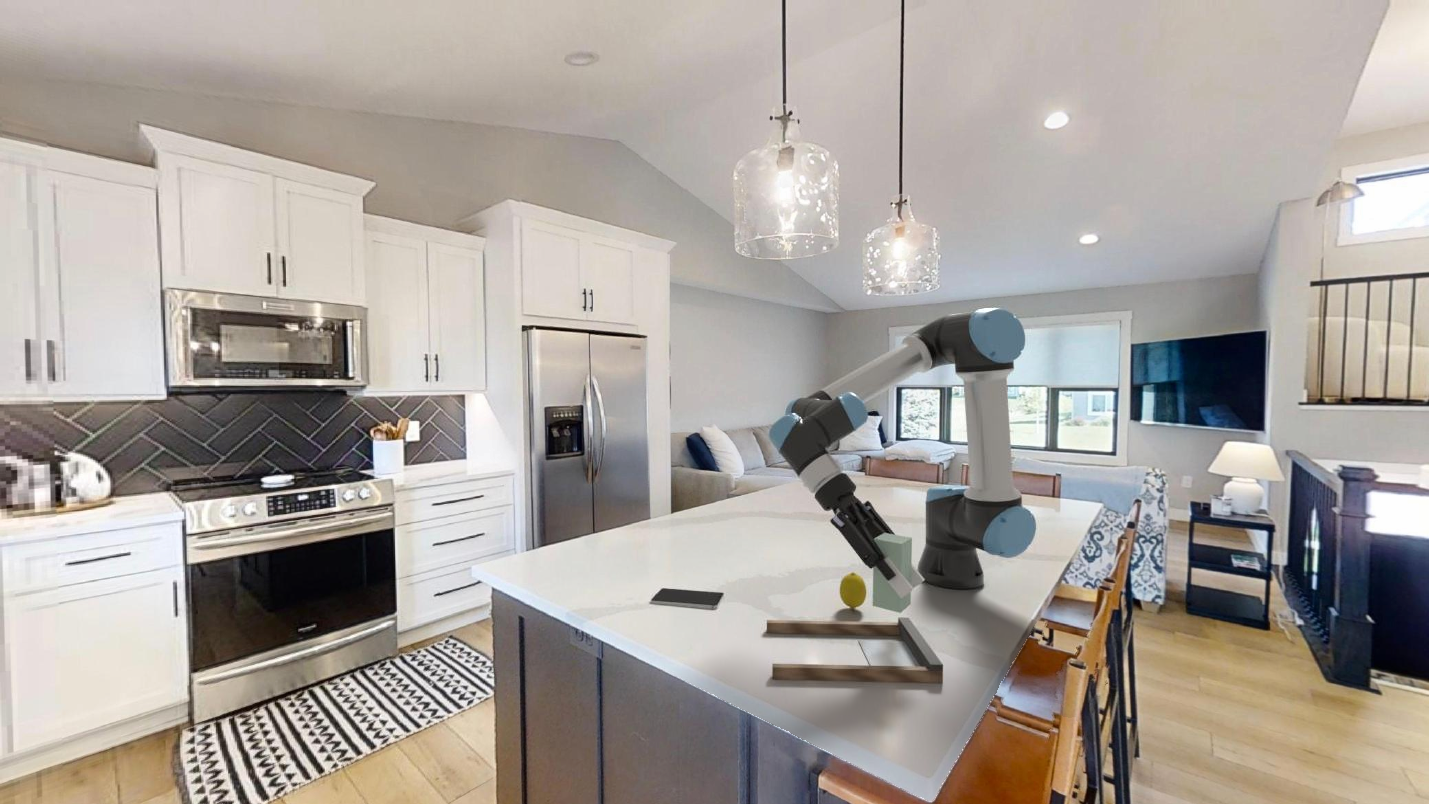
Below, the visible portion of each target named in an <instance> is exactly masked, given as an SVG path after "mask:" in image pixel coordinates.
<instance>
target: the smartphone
mask: <svg viewBox="0 0 1429 804" xmlns="http://www.w3.org/2000/svg"><path fill="white" fill-rule="evenodd" d="M724 597H725V593H724V592H719V591H708V590H707V591H706V590H695V589H680V588H665V587H663V588H662V587H661V588H660V589H659V590H658V591H657V593H655V595H654V596H653V597H652V598H651V600H650V603H651V604H654V605H656V604H657V605H658V604H659V605H665V606H666V605H667V606H677V607H688V608H689V607H690V608H697V609H706V610H707V609H710V610H718V608H719V607H720V605H721V603H722V601H723V599H724Z"/></svg>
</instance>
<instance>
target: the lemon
mask: <svg viewBox="0 0 1429 804" xmlns="http://www.w3.org/2000/svg"><path fill="white" fill-rule="evenodd" d="M839 596H840V598H841V599H840V600H841V601H842V602H843V603H844V604H845V605H846V607H848V608H849V609H851V610H855V609H856V608H858V607H861V606H862V605H863V604H864V602H865V600H866V597H867V587H866V583H865V580H864V579H863V578H862V577H861V575H859V574H858V573H857V574H856V573H855V571H854V572H851V573H847V574H846V575H845V576H843V578H842V579H841V581H840V584H839Z"/></svg>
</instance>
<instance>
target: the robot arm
mask: <svg viewBox="0 0 1429 804" xmlns="http://www.w3.org/2000/svg"><path fill="white" fill-rule="evenodd" d="M1025 345H1026V333H1025V329H1024V327H1023V324H1022V322H1021V320H1019V318H1018V317H1017V316H1015V315H1014V314H1013V313H1012V312H1011V311H1010V310H1007V309H1005V308H999V307H993V308H992V307H990V308H988V307H987V308H986V307H984V308H981V309H975V310H969V311H964V312H959V313H958V312H957V313H950V314H947V315H944V316H942V317H939V318H937V319H935V320H934V321H931V322H930V323H928V324H926V325H924V326H922V327H921V328H919V329H917V330H916V331H914V332H912V333H911V334H909V335H907V336H905V337H904V338H903V339H902V341H901V344H900V345H898V346H896V347H895V348H893V349H891V350H890V351H887V352H885V353H883V354H882V355H880V356H879V357H877V358H875V359H873V360H871V361H870V362H868V363H865V364H864V365H863V366H861V367H859V368H857V369H855V370H854V371H851V372H850V373H848V374H847V375H845V376H842V377H841V378H839V379H837V380H835V381H834V382H832V383H830V384H828V385H827V386H825V387H823V388H822V389H820V390H818V391H816V392H814V393H812V394H810V395H809V396H807V397H799V398H795V399H792V400H791V401H790V402H789V403H788V405H787V406H786V408H785V414H784V415H783V416H782V417H780V418H779V419H778V420H777V421H776V422H774V423H773V425H772V426H771V427H770V428H769V432H768V437H769V440H770V442H771V443H772V445H773V446H774V447H775V449H776V450H777V453H778V454H780V456H781V457H782V458H783V459H784V461H785V462H786V463H787V464H788V465H789V466H790V467H791V469H792V470H793V472H794V473H795V474H796V475H797V477H798V478H799V479H800V480H801V482H802V483H803V487H805V488H807V489H808V490H809V492H810V493H811V494H814V499H815V500H816V501H817V503H818V504H819V505H820V507H821V508H822V509H823V511H826V512H829V511H832V512H833V514H834V516H833V517H832V518H831V519H830V521H829V522H830V523H831V524H832V526H833V527H834V528H836V529H837V530H838V531H839V532H840V534H841V535H842V536H843V538H844V539H845V541H846V542H847V543H848V544H849V545H850V547H851V548H852V549H853V551H854V552H855V554H856V555H858V557H859V558H860V560H861V561H862V562H863V564H864V565H865V566H867V567H868V568H869V569H870V570H871V569H872V570H873V567H874V566H876V567H877V569H878V570H879V571H880V573H881V574H882V575H883V576H884V578H885V579H886V580H887V581H888V583H889V584H890V585H891V587H892V588H893V589H894V590H895V592H896V593H897V594H898V595H899V597H900V598H903V597H904V596H905V595H907V594H908V593H910V592H912V591H914V589H915V588H916V587H918V586H919V585H920V584H922V583H923V582H926V583H928V584H930V585H934V586H938V587H942V588H946V589H947V588H948V589H956V590H971V589H976V588H980V587H981V586H983V585H984V581H985V580H984V577H985V575H984V571H983V568H982V564H981V561H980V558H979V554H978V551H977V550H978V549H979V550H980V551H984V552H986V553H987V554H989V555H991V556H999V557H1001V558H1005V559H1008V558H1009V559H1011V558H1016V557H1018V556H1020V555H1021V554H1023V553H1024V552H1025V551H1027V549H1028V547H1029V546H1031V544H1032V543H1033V541H1034V538H1035V535H1036V530H1037V522H1036V521H1037V520H1036V518H1035V516H1034V514H1033V513H1031V511H1030V510H1029V509H1028V508H1027V507H1025V506H1023V499H1022V498H1023V497H1022V492H1020V490H1019V489H1017V488H1016V487H1015V486H1014V480H1013V462H1012V443H1011V428H1010V412H1009V398H1008V397H1009V394H1008V380H1007V378H1008V376H1009V375H1010V374H1011V373H1012V372H1013V371H1014V369H1015V364H1014V362H1015V360H1016V359H1018V358H1019V357H1021V355H1022V351H1023V350H1024V349H1025ZM947 365H954V370H955V371H954V372H955V375H956V376H958V377H959V378H960V379H961V380H962V381H963V393H964V408H965V409H964V411H965V423H966V424H965V425H966V437H967V438H966V439H967V453H968V469H969V485H956V484H955V485H937V486H934V485H933V486H931V487H928V489H927V490H926V497H925V502H924V503H925V544H924V548H923V550H922V553H921V556H920V558H919V561H918V564H917V568H916V567H915V565H914V564H913V563H912V562H911V585H910V583H909V582H908V581H907V580H906V578H905V577H904V576H903V575H902V573H901V572H900V571H899V570H898V568H897V567H896V566H895V565H894V563H893V562H892V561H891V560H890V558H889V557H887V558H886V559H885V557H884V555H883V553H882V552H881V550H880V549H879V547H878V546H877V544H876V542H875V541H874V538H876V537H878V536H880V535H882V534H883V533H888V534H894V535H896V534H895V532H894V531H893V530H892V529H891V527H890V525H888V524H887V523H886V522H885V520H884V519H883V518H882V517H881V515H880V513H878V512H877V511H876V509H875V507H874V506H873V504H872V503H871V502H870V501H869V500H866V501H865V502H862V501H861V500H860V499H859V498H857V497H856V495H854V493H855V492H856V489H857V485H856V484H855V483H854V481H853V480H852V479H851V478H850V476H848V474H847V473H846V472H845V473H844V472H843V468H842V467H841V465H840V464H839V463H838V462H837V460H835V458H834V457H833V456H832V455H831V453H830V452H829V450H827V449H828V448H830V447H831V446H833V445H835V444H836V443H838V442H839V441H842V440H843V439H845V438H846V437H847V436H849V435H850V434H852V433H854V432H856V431H857V430H858V429H859V428H861V427H862V426H863V425H864V424H865V423H866V422H867V421H868V418H869V413H868V410H867V407H866V405H865V403H867V402H868V401H871V400H872V399H873V398H875V397H877V396H879V395H880V394H882V393H884V392H886V391H887V390H890V389H891V388H892V387H894V386H896V385H898V384H900V383H901V382H903V381H905V380H907V379H908V378H910V377H912V376H914V375H915V374H917V373H922V374H923V373H927V372H929V371H931V370H933V369H936V368H938V367H941V366H942V367H943V366H947Z"/></svg>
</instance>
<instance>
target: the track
mask: <svg viewBox="0 0 1429 804" xmlns="http://www.w3.org/2000/svg"><path fill="white" fill-rule="evenodd" d="M766 633H767V634H801V635H802V634H804V635H805V634H808V635H809V634H810V635H811V634H812V635H816V634H817V635H819V634H820V635H857V636H858V635H859V636H860V635H863V636H865V635H866V636H899V637H900V638H901V639H902V640H865V639H864V640H862V639H861V640H858V643H859V645H860V647H861V650H862V651H863V653H864V656H865V658H866V660H867V662H868V665H866V664H865V665H864V664H863V665H861V664H860V665H858V664H857V665H854V664H850V665H849V664H819V663H817V664H815V663H814V664H813V663H812V664H810V663H809V664H808V663H806V664H805V663H771V664H772V665H771V666H772V668H771V669H772V672H771V673H772V674H771V675H772V680H792V681H793V680H794V681H795V680H797V681H801V680H802V681H837V682H838V681H841V682H843V681H844V682H849V681H850V682H889V683H892V682H893V683H928V684H929V683H933V684H934V683H937V684H942V683H944V676H943V674H944V664H943V663H942V661H941V660H940V659H939V657H938V656H937V654H936V653H935V652H934V650H933V649H932V648H931V647H930V646H931V645H929V643H928V642H927V641H926V640H925V638H924V637H923V635H922V634H921V632H920V631H919V630H918V628H917V627H916V626H915V624H914V623H913V622H912V620H911V618H910V617H903V616H902V617H897V622H894V621H893V622H890V621H884V622H883V621H844V620H843V621H842V620H841V621H834V620H830V621H829V620H826V621H825V620H790V619H789V620H787V619H785V620H784V619H783V620H781V619H780V620H778V619H776V620H774V619H766Z"/></svg>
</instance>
